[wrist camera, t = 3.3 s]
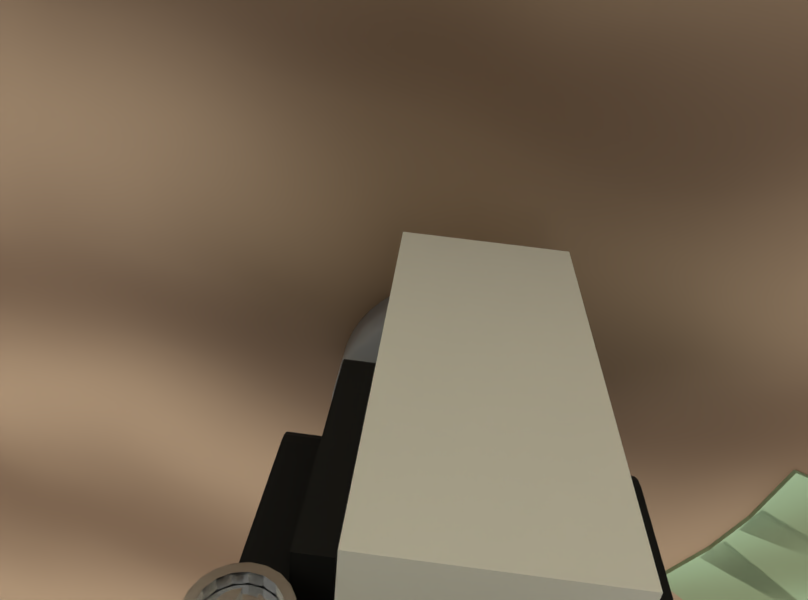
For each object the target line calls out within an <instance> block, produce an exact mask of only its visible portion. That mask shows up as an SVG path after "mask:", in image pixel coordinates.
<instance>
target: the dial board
mask: <svg viewBox="0 0 808 600" xmlns="http://www.w3.org/2000/svg"><path fill="white" fill-rule="evenodd" d="M403 232H410V233H418V234H427V235H435V236H443V237H452V238H460V239H468V240H477V241H485V242H493V243H501V244H510V245H518V246H526V247H535V248H543V249H551V250H559V251H568V252H569V253H570V257H571V260H572V264H573V268H574V271H575V275H576V278H577V282H578V286H579V289H580V293H581V297H582V300H583V304H584V308H585V311H586V315H587V318H588V322H589V326H590V329H591V333H592V337H593V340H594V344H595V348H596V351H597V355H598V358H599V362H600V366H601V369H602V373H603V377H604V380H605V384H606V388H607V391H608V395H609V398H610V402H611V406H612V409H613V413H614V417H615V420H616V424H617V428H618V431H619V435H620V438H621V442H622V446H623V449H624V453H625V457H626V460H627V464H628V468H629V471H630V475H631V476H635V477H636V478H637V479H638V480H639V483H640V485H641V488H642V491H643V495H644V498H645V502H646V505H647V509H648V512H649V516H650V519H651V523H652V526H653V530H654V533H655V537H656V540H657V544H658V547H659V551H660V554H661V558H662V561H663V565H664V568H665V572H666V575H667V579H668V582H669V586H670V589H671V593H672V596H673V600H808V0H0V600H183V599H184V597H185V595H186V593H187V591H188V590H189V589H190V588H191V587H192V586H193V585H194V584H195V583H196V582H197V581H198V580H199V579H200V578H201V577H202V576H204V575H205V574H207V573H209V572H211V571H212V570H214V569H216V568H218V567H222V566H225V565H228V564H232V563H239V561H240V558H241V555H242V552H243V549H244V546H245V543H246V541H247V538H248V535H249V532H250V529H251V526H252V523H253V521H254V518H255V515H256V512H257V509H258V506H259V503H260V500H261V498H262V495H263V492H264V489H265V486H266V483H267V480H268V478H269V475H270V472H271V469H272V466H273V463H274V460H275V458H276V455H277V452H278V449H279V446H280V443H281V441H282V438H283V436H284V434H285V433H286V432H295V433H303V434H311V435H318V436H322V434H323V431H324V427H325V423H326V420H327V416H328V412H329V409H330V405H331V401H332V394H333V390H334V387H335V383H336V380H337V376H338V372H339V369H340V365H341V362H342V358H343V355H344V351H345V348H346V345H347V342H348V340H349V338H350V336H351V334H352V332H353V331H354V329H355V328H356V326H357V325H358V323H359V322H360V321H361V319H362V318H363V317H364V316H365V315H366V314H367V313H368V312H369V311H370V310H371V309H372V308H374V307H375V306H376V305H377V304H379V303H380V302H381V301H383V300H384V299H386V298H388V297H389V296H390V293H391V288H392V283H393V278H394V273H395V268H396V264H397V259H398V254H399V249H400V244H401V239H402V234H403Z"/></svg>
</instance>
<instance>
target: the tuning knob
mask: <svg viewBox="0 0 808 600" xmlns="http://www.w3.org/2000/svg"><path fill="white" fill-rule="evenodd" d="M344 359H349V360H357V361H365V362H373V363H376V366H375V371H374V376H373V381H372V386H371V390H370V395H369V400H368V405H367V410H366V415H365V420H364V425H363V429H362V434H361V439H360V444H359V449H358V454H357V459H356V464H355V469H354V473H353V478H352V483H351V488H350V493H349V498H348V503H347V508H346V512H345V517H344V522H343V527H342V532H341V537H340V542H339V547H338V555H337V569H336V584H335V598H334V600H660V599H661V596H662V594H663V591H662V588H661V584H660V580H659V577H658V573H657V569H656V566H655V562H654V558H653V555H652V551H651V548H650V544H649V540H648V537H647V533H646V529H645V526H644V522H643V518H642V515H641V511H640V508H639V504H638V500H637V497H636V493H635V489H634V486H633V482H632V478H631V475H630V471H629V468H628V464H627V460H626V457H625V453H624V449H623V446H622V442H621V438H620V435H619V431H618V428H617V424H616V420H615V417H614V413H613V409H612V406H611V402H610V398H609V395H608V391H607V388H606V384H605V380H604V377H603V373H602V369H601V366H600V362H599V358H598V355H597V351H596V348H595V344H594V340H593V337H592V333H591V329H590V326H589V322H588V318H587V315H586V311H585V308H584V304H583V300H582V297H581V293H580V289H579V286H578V282H577V278H576V275H575V271H574V268H573V264H572V260H571V257H570V253H569V252H568V251H559V250H551V249H543V248H535V247H526V246H518V245H510V244H501V243H493V242H485V241H477V240H468V239H460V238H452V237H443V236H435V235H427V234H418V233H410V232H403V234H402V239H401V244H400V249H399V254H398V259H397V264H396V268H395V273H394V278H393V283H392V288H391V293H390V296H389V297H388V298H386V299H384V300H383V301H381V302H380V303H379V304H377V305H376V306H375V307H374V308H372V309H371V310H370V311H369V312H368V313H367V314H366V315H365V316H364V317H363V318H362V319H361V321H360V322H359V323H358V325H357V326H356V328H355V329H354V331H353V332H352V334H351V336H350V338H349V340H348V342H347V345H346V348H345V351H344V355H343V358H342V362H343V360H344ZM342 362H341V365H340V369H341V366H342ZM340 369H339V372H338V376H339V373H340ZM338 376H337V380H338ZM337 380H336V383H335V387H336V384H337ZM335 387H334V390H333V394H334V391H335ZM333 394H332V398H333ZM331 402H332V401H331Z"/></svg>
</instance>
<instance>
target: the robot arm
mask: <svg viewBox="0 0 808 600" xmlns="http://www.w3.org/2000/svg"><path fill="white" fill-rule="evenodd" d="M375 366H376V363H373V362H365V361H357V360H349V359H344V360H343V362H342V366H341V369H340V373H339V376H338V380H337V384H336V387H335V391H334V394H333V398H332V402H331V405H330V409H329V412H328V416H327V420H326V423H325V427H324V431H323V434H322V436H318V435H311V434H303V433H295V432H286V433H285V434H284V436H283V438H282V441H281V443H280V446H279V449H278V452H277V455H276V458H275V460H274V463H273V466H272V469H271V472H270V475H269V478H268V480H267V483H266V486H265V489H264V492H263V495H262V498H261V500H260V503H259V506H258V509H257V512H256V515H255V518H254V521H253V523H252V526H251V529H250V532H249V535H248V538H247V541H246V543H245V546H244V549H243V552H242V555H241V558H240V561H239V563H232V564H228V565H225V566H222V567H218V568H216V569H214V570H212V571H211V572H209V573H207V574H205V575H204V576H202V577H201V578H200V579H199V580H198V581H197V582H196V583H195V584H194V585H193V586H192V587H191V588H190V589H189V590H188V591H187V593H186V595H185V597H184V599H183V600H334V598H335V584H336V569H337V555H338V547H339V542H340V537H341V532H342V527H343V522H344V517H345V512H346V508H347V503H348V498H349V493H350V488H351V483H352V478H353V473H354V469H355V464H356V459H357V454H358V449H359V444H360V439H361V434H362V429H363V425H364V420H365V415H366V410H367V405H368V400H369V395H370V390H371V386H372V381H373V376H374V371H375ZM631 478H632V482H633V486H634V489H635V493H636V497H637V500H638V504H639V508H640V511H641V515H642V518H643V522H644V526H645V529H646V533H647V537H648V540H649V544H650V548H651V551H652V555H653V558H654V562H655V566H656V569H657V573H658V577H659V580H660V584H661V588H662V591H663V594H662V596H661V599H660V600H673V596H672V593H671V589H670V586H669V582H668V579H667V575H666V572H665V568H664V565H663V561H662V558H661V554H660V551H659V547H658V544H657V540H656V537H655V533H654V530H653V526H652V523H651V519H650V516H649V512H648V509H647V505H646V502H645V498H644V495H643V491H642V488H641V485H640V483H639V480H638V479H637V478H636V477H635V476H631Z"/></svg>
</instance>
